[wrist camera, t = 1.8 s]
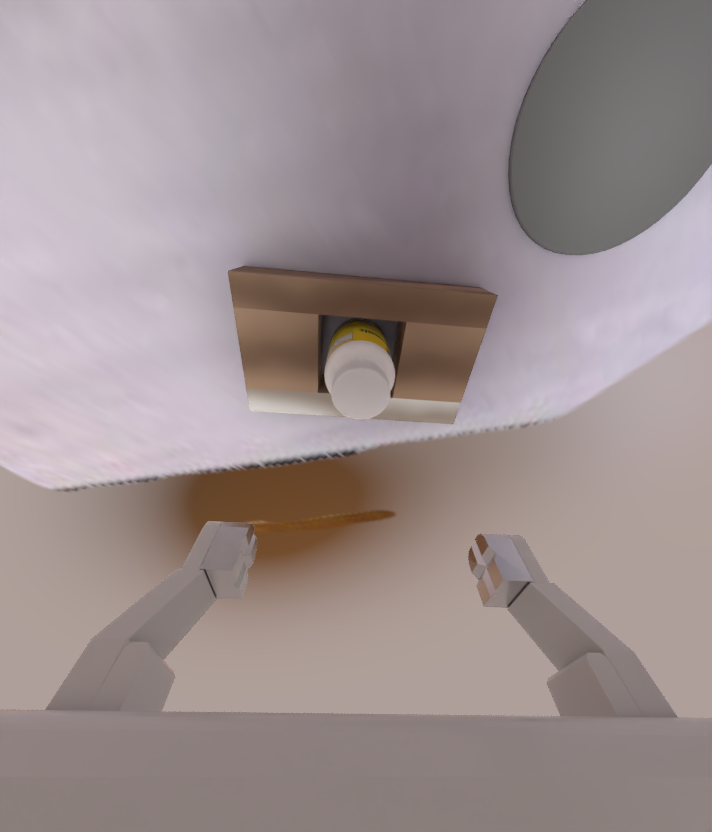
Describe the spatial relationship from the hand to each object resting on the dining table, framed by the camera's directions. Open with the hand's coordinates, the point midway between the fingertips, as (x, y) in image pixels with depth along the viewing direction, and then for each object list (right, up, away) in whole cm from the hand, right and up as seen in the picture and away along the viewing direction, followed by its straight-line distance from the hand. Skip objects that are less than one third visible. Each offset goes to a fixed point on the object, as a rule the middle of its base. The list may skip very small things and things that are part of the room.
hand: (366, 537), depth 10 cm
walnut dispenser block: (0, +11, +16) cm, 20 cm away
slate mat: (+17, +23, +8) cm, 30 cm away
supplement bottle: (0, +11, +17) cm, 20 cm away
